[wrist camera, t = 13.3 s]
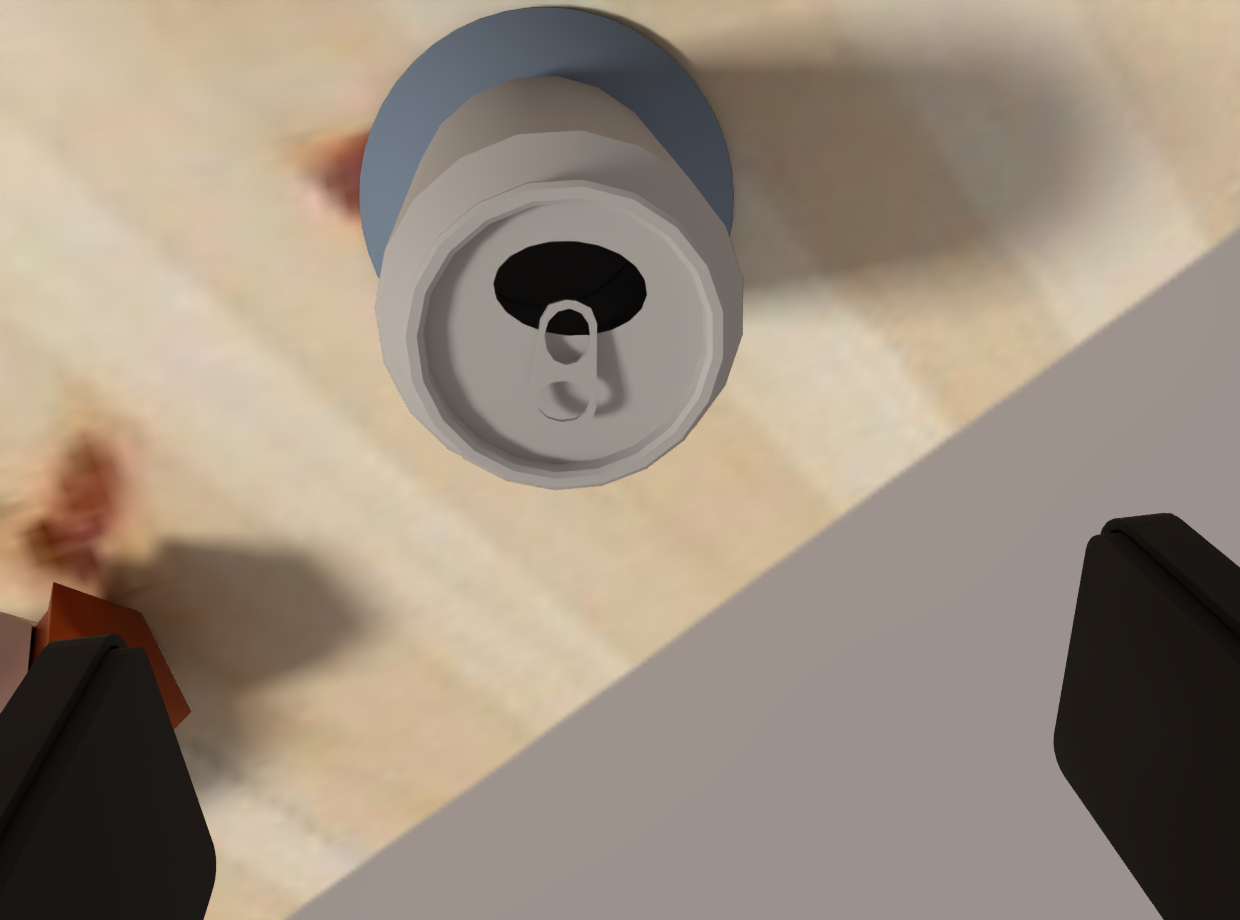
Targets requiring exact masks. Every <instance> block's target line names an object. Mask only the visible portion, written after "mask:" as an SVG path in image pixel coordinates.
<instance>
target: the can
mask: <svg viewBox="0 0 1240 920" xmlns="http://www.w3.org/2000/svg"><path fill="white" fill-rule="evenodd" d="M375 313H376V319H377V325H378V331H379V337H380V343H381V349H382V355H383V362H384V365H385V366H386V368H387V370H388V372H389V374H390V376H391V378H392V380H393V382H394V383H395V385H396V387H397V389H398V391H399V393H400V395H401V397H402V398H403V400H404V402H405V404H406V406H407V408H408V410H409V412H410V413H411V414H412V415H413V416H414V417H415V418H417V419H418V420H419V421H420V422H421V423H422V424H423V425H424V426H425V427H426V428H427V429H428V430H429V431H430V432H431V433H432V434H433V435H434V436H435V437H436V438H437V439H438V440H439V441H440V442H441V443H442V444H443V445H444V446H445V447H446V448H447V449H448V450H450V451H452V452H454V453H456V454H458V455H460V456H462V457H463V458H464V459H465V460H467V461H469V462H471V463H473V464H475V465H476V466H478V467H480V468H482V469H484V470H486V471H488V472H490V473H492V474H494V475H496V476H498V477H500V478H502V479H504V480H506V481H509V482H514V483H519V484H524V485H530V486H535V487H540V488H545V489H551V490H561V489H572V488H583V487H595V486H603V485H605V484H608V483H611V482H613V481H616V480H618V479H621V478H624V477H626V476H629V475H631V474H634V473H637V472H639V471H642V470H644V469H647V468H648V467H649V466H651V465H652V464H653V463H655V462H656V461H657V460H659V459H660V458H661V457H663V456H664V455H665V454H666V453H668V452H669V451H670V450H672V449H673V448H674V447H676V446H677V445H678V444H680V443H681V442H682V441H684V440H685V438H686V437H687V436H688V434H689V433H690V431H691V430H692V429H694V427H695V426H696V425H697V423H698V422H699V421H700V419H701V418H702V416H703V415H704V414H705V412H706V411H707V410H708V408H709V407H710V406H711V404H712V403H713V401H714V400H715V399H716V397H717V396H718V395H719V393H720V392H721V390H722V389H723V388H724V386H725V385H726V382H727V379H728V376H729V373H730V370H731V367H732V364H733V361H734V358H735V355H736V352H737V349H738V346H739V343H740V341H741V338H742V335H743V278H742V275H741V272H740V269H739V265H738V262H737V259H736V256H735V253H734V250H733V247H732V244H731V241H730V238H729V235H728V232H727V229H726V226H725V225H724V223H723V222H722V221H721V220H720V218H719V217H718V216H717V214H716V213H715V212H714V210H713V209H712V208H711V206H710V205H709V204H708V202H707V201H706V200H705V198H704V197H703V196H702V194H701V193H700V192H699V190H698V189H697V188H696V186H695V185H694V184H693V183H692V181H691V180H690V179H689V177H688V176H687V175H686V174H685V173H684V171H683V170H682V169H681V168H680V167H679V165H678V164H677V163H676V162H675V161H674V159H673V158H672V157H671V156H670V155H669V153H668V152H667V151H666V150H665V149H664V147H663V146H662V145H661V144H660V143H659V141H658V140H657V139H656V138H655V137H654V135H653V134H652V133H651V132H650V131H649V129H648V128H647V127H646V126H645V125H644V123H643V122H642V121H641V120H640V119H639V117H638V116H637V115H636V114H635V113H634V112H633V111H632V110H631V109H629V108H628V107H626V106H625V105H623V104H622V103H620V102H619V101H617V100H616V99H614V98H613V97H611V96H610V95H609V94H607V93H606V92H604V91H603V90H601V89H600V88H598V87H595V86H591V85H588V84H584V83H580V82H577V81H573V80H570V79H566V78H562V77H559V76H546V77H529V78H513V79H511V80H508V81H506V82H503V83H501V84H499V85H496V86H494V87H491V88H489V89H487V90H484V91H482V92H480V93H477V94H475V95H473V96H472V97H470V98H469V99H468V100H467V101H466V102H465V103H464V104H463V105H462V106H460V107H459V108H458V109H457V110H456V111H455V112H454V113H453V114H452V115H450V116H449V117H448V118H447V119H446V120H445V121H444V122H443V123H442V124H441V125H440V127H439V128H438V130H437V132H436V134H435V136H434V137H433V139H432V141H431V143H430V145H429V146H428V148H427V150H426V152H425V154H424V155H423V157H422V159H421V161H420V163H419V166H418V168H417V171H416V173H415V176H414V178H413V181H412V183H411V186H410V188H409V191H408V193H407V196H406V198H405V201H404V203H403V206H402V208H401V211H400V213H399V216H398V218H397V221H396V224H395V226H394V229H393V231H392V234H391V236H390V239H389V241H388V244H387V246H386V249H385V251H384V257H383V263H382V269H381V274H380V280H379V286H378V292H377V297H376V303H375Z"/></svg>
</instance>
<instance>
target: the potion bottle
mask: <svg viewBox="0 0 1240 920" xmlns="http://www.w3.org/2000/svg"><path fill="white" fill-rule="evenodd" d="M106 634H117V635H120V636H121V637H122V638H123V639H124V640H125V642H126V643H127V645H128V647H135V646H138V647H141V648H142V649H143V650H144V651H145V652H146V654H147V656H148V658H149V661H150V663H151V666H152V669H153V672H154V675H155V678H156V681H157V684H158V686H159V689H160V692H161V695H162V698H163V701H164V704H165V707H166V709H167V712H168V715H169V718H170V721H171V724H172V727H173V730H174V729H175V728H176V727H177V726H178V725H179V724H180V723H181V722H182V721H183V720H184V719H185V718H186V717H187V716H188V715H189V714H190V712H191V710H190V708H189V706H188V704H187V702H186V701H185V699H184V697H183V695H182V693H181V691H180V689H179V687H178V685H177V683H176V681H175V679H174V677H173V675H172V673H171V671H170V669H169V667H168V665H167V663H166V661H165V659H164V657H163V655H162V653H161V651H160V650H159V648H158V646H157V644H156V642H155V640H154V638H153V636H152V634H151V632H150V630H149V628H148V626H147V624H146V622H145V620H144V618H143V616H142V614H141V613H140V612H137V611H134V610H132V609H129V608H126V607H123V606H120V605H117V604H114V603H112V602H109V601H106V600H103V599H100V598H97V597H95V596H92V595H89V594H86V593H83V592H80V591H78V590H75V589H72V588H69V587H66V586H63V585H60V584H58V583H55V582H53V588H52V593H51V598H50V603H49V608H48V611H47V612H46V614H45V615H44V616H43V617H42V619H41V620H40V621H39V623H36V622H33V621H30V620H26V619H23V618H20V617H16V616H13V615H10V614H6V613H3V612H0V713H1V712H2V710H3V709H4V707H5V706H6V704H7V703H8V701H9V700H10V698H11V697H12V695H13V694H14V692H15V691H16V689H17V688H18V686H19V685H20V683H21V682H22V680H23V679H24V677H25V675H26V674H27V672H28V671H29V669H30V668H31V666H32V665H33V663H34V662H35V660H36V659H37V657H38V656H39V654H40V653H41V651H42V650H43V649H44V648H45V647H46V645H47V644H48V643H50V642H53V641H55V640H63V639H71V638H80V637H89V636H98V635H106Z"/></svg>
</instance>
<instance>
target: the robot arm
mask: <svg viewBox="0 0 1240 920" xmlns="http://www.w3.org/2000/svg"><path fill="white" fill-rule="evenodd" d="M1054 751H1055V755H1056V759H1057V762H1058V765H1059V767H1060V769H1061V771H1062V773H1063V775H1064V776H1065V778H1066V779H1067V781H1068V782H1069V783H1070V785H1071V786H1072V788H1073V789H1074V791H1075V792H1076V794H1077V795H1078V796H1079V798H1080V799H1081V801H1082V802H1083V804H1084V805H1085V806H1086V808H1087V810H1088V811H1089V812H1090V814H1091V815H1092V817H1093V818H1094V820H1095V821H1096V823H1097V824H1098V825H1099V827H1100V828H1101V830H1102V831H1103V833H1104V834H1105V835H1106V837H1107V838H1108V840H1109V841H1110V843H1111V844H1112V846H1113V847H1114V849H1115V850H1116V851H1117V853H1118V854H1119V855H1120V857H1121V859H1122V860H1123V862H1124V863H1125V865H1126V866H1127V867H1128V869H1129V870H1130V872H1131V873H1132V875H1133V876H1134V878H1135V879H1136V880H1137V882H1138V883H1139V885H1140V886H1141V888H1142V889H1143V891H1144V892H1145V893H1146V895H1147V896H1148V898H1149V899H1150V901H1151V902H1152V904H1153V905H1154V906H1155V908H1156V909H1157V911H1158V912H1159V914H1160V915H1161V916H1162V918H1163V919H1164V920H1240V567H1238V566H1237V565H1236V564H1235V563H1234V562H1232V561H1231V560H1230V559H1229V558H1228V557H1226V556H1225V555H1224V554H1223V553H1222V552H1220V551H1219V550H1218V549H1217V548H1216V547H1214V546H1213V545H1212V544H1210V543H1209V542H1208V541H1207V540H1206V539H1204V538H1203V537H1202V536H1201V535H1200V534H1198V533H1197V532H1196V531H1195V530H1194V529H1192V528H1191V527H1190V526H1189V525H1187V524H1186V523H1185V522H1184V521H1183V520H1181V519H1180V518H1179V517H1177V516H1175V515H1173V514H1171V513H1159V514H1150V515H1142V516H1133V517H1124V518H1115V519H1112V520H1110V521H1108V522H1107V523H1106V524H1105V526H1104V527H1103V529H1102V531H1101V534H1100V535H1096V536H1093V537H1092V538H1091V539H1090V540H1089V542H1088V544H1087V548H1086V552H1085V557H1084V563H1083V569H1082V575H1081V581H1080V587H1079V593H1078V598H1077V604H1076V610H1075V615H1074V621H1073V627H1072V633H1071V639H1070V644H1069V650H1068V656H1067V662H1066V668H1065V674H1064V679H1063V685H1062V691H1061V697H1060V703H1059V709H1058V714H1057V720H1056V726H1055V732H1054ZM215 876H216V855H215V849H214V845H213V842H212V839H211V836H210V833H209V830H208V827H207V824H206V821H205V819H204V816H203V813H202V810H201V807H200V804H199V801H198V798H197V796H196V793H195V790H194V787H193V784H192V781H191V778H190V776H189V773H188V770H187V767H186V764H185V761H184V758H183V755H182V753H181V750H180V747H179V744H178V741H177V738H176V735H175V732H174V730H173V727H172V724H171V721H170V718H169V715H168V712H167V709H166V707H165V704H164V701H163V698H162V695H161V692H160V689H159V686H158V684H157V681H156V678H155V675H154V672H153V669H152V666H151V663H150V661H149V658H148V656H147V654H146V652H145V651H144V650H143V649H142V648H141V647H138V646H135V647H128V645H127V643H126V642H125V640H124V639H123V638H122V637H121V636H120V635H117V634H106V635H98V636H89V637H80V638H71V639H63V640H55V641H53V642H50V643H48V644H47V645H46V647H45V648H44V649H43V650H42V651H41V653H40V654H39V656H38V657H37V659H36V660H35V662H34V663H33V665H32V666H31V668H30V669H29V671H28V672H27V674H26V675H25V677H24V679H23V680H22V682H21V683H20V685H19V686H18V688H17V689H16V691H15V692H14V694H13V695H12V697H11V698H10V700H9V701H8V703H7V704H6V706H5V707H4V709H3V710H2V712H1V713H0V920H204V916H205V913H206V910H207V907H208V903H209V900H210V897H211V894H212V890H213V887H214V882H215Z"/></svg>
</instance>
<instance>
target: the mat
mask: <svg viewBox="0 0 1240 920" xmlns="http://www.w3.org/2000/svg"><path fill="white" fill-rule="evenodd" d="M546 76H559V77H562V78H566V79H570V80H573V81H577V82H580V83H584V84H588V85H591V86H595V87H598V88H600V89H601V90H603V91H604V92H606V93H607V94H609V95H610V96H611V97H613V98H614V99H616V100H617V101H619V102H620V103H622V104H623V105H625V106H626V107H628V108H629V109H631V110H632V111H633V112H634V113H635V114H636V115H637V116H638V117H639V119H640V120H641V121H642V122H643V123H644V125H645V126H646V127H647V128H648V129H649V131H650V132H651V133H652V134H653V135H654V137H655V138H656V139H657V140H658V141H659V143H660V144H661V145H662V146H663V147H664V149H665V150H666V151H667V152H668V153H669V155H670V156H671V157H672V158H673V159H674V161H675V162H676V163H677V164H678V165H679V167H680V168H681V169H682V170H683V171H684V173H685V174H686V175H687V176H688V177H689V179H690V180H691V181H692V183H693V184H694V185H695V186H696V188H697V189H698V190H699V192H700V193H701V194H702V196H703V197H704V198H705V200H706V201H707V202H708V204H709V205H710V206H711V208H712V209H713V210H714V212H715V213H716V214H717V216H718V217H719V218H720V220H721V221H722V222H723V223H724V225H725V226H726V229H727V232H728V235H729V237H730V231H731V226H732V220H733V202H734V191H733V178H732V169H731V164H730V159H729V155H728V150H727V146H726V143H725V140H724V137H723V134H722V131H721V129H720V126H719V123H718V121H717V119H716V117H715V115H714V113H713V111H712V109H711V107H710V105H709V103H708V101H707V100H706V98H705V97H704V95H703V94H702V92H701V91H700V89H699V88H698V86H697V85H696V84H695V82H694V81H693V79H692V78H691V77H690V76H689V75H688V74H687V73H686V72H685V70H684V69H683V68H682V67H681V66H680V65H679V64H678V63H677V62H676V61H675V60H674V59H673V58H672V57H671V56H670V55H668V54H667V53H666V52H665V51H664V50H662V49H661V48H660V47H659V46H658V45H656V44H655V43H654V42H652V41H650V40H649V39H647V38H646V37H644V36H642V35H641V34H639V33H638V32H636V31H635V30H633V29H631V28H629V27H626V26H624V25H622V24H620V23H617V22H615V21H613V20H611V19H608V18H605V17H602V16H598V15H595V14H591V13H588V12H584V11H579V10H572V9H564V8H557V7H546V8H524V9H518V10H511V11H504V12H501V13H498V14H494V15H491V16H488V17H484V18H481V19H478V20H476V21H474V22H472V23H470V24H467V25H465V26H463V27H461V28H459V29H457V30H455V31H453V32H452V33H450V34H449V35H447V36H446V37H444V38H443V39H441V40H440V41H438V42H437V43H435V44H433V45H432V46H431V47H430V48H429V49H428V50H427V51H426V52H424V53H423V54H422V55H421V56H420V57H419V58H418V59H416V60H415V61H414V62H413V63H412V65H411V66H410V67H409V68H408V69H407V70H406V72H405V73H404V74H403V75H402V76H401V77H400V79H399V80H398V81H397V82H396V83H395V85H394V87H393V88H392V90H391V91H390V93H389V95H388V96H387V98H386V99H385V101H384V102H383V104H382V106H381V108H380V110H379V112H378V115H377V117H376V119H375V121H374V123H373V126H372V128H371V131H370V134H369V138H368V141H367V144H366V148H365V151H364V156H363V162H362V169H361V176H360V211H361V220H362V229H363V233H364V237H365V241H366V245H367V249H368V253H369V255H370V258H371V260H372V263H373V265H374V268H375V270H376V273H377V276H378V277H379V279H380V274H381V269H382V263H383V257H384V251H385V249H386V246H387V244H388V241H389V239H390V236H391V234H392V231H393V229H394V226H395V224H396V221H397V218H398V216H399V213H400V211H401V208H402V206H403V203H404V201H405V198H406V196H407V193H408V191H409V188H410V186H411V183H412V181H413V178H414V176H415V173H416V171H417V168H418V166H419V163H420V161H421V159H422V157H423V155H424V154H425V152H426V150H427V148H428V146H429V145H430V143H431V141H432V139H433V137H434V136H435V134H436V132H437V130H438V128H439V127H440V125H441V124H442V123H443V122H444V121H445V120H446V119H447V118H448V117H449V116H450V115H452V114H453V113H454V112H455V111H456V110H457V109H458V108H459V107H460V106H462V105H463V104H464V103H465V102H466V101H467V100H468V99H469V98H470V97H472V96H473V95H475V94H477V93H480V92H482V91H484V90H487V89H489V88H491V87H494V86H496V85H499V84H501V83H503V82H506V81H508V80H511V79H513V78H529V77H546Z"/></svg>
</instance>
